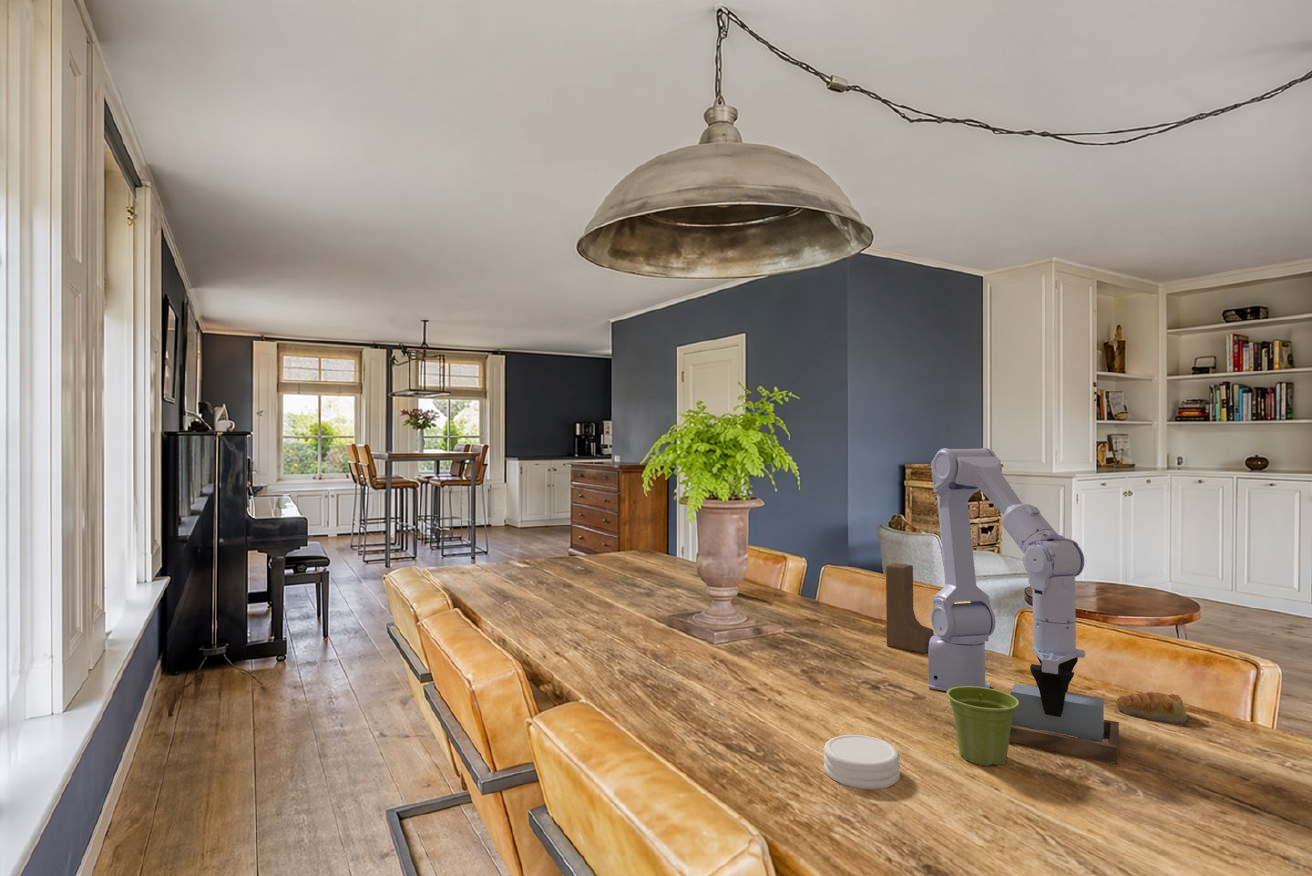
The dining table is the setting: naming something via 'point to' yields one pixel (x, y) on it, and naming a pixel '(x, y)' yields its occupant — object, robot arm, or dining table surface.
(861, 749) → the coaster
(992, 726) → the plant pot
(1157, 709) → the pastry
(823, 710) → the dining table surface
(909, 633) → the wooden block
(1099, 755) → the peg frame
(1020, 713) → the blue-grey rectangular block
